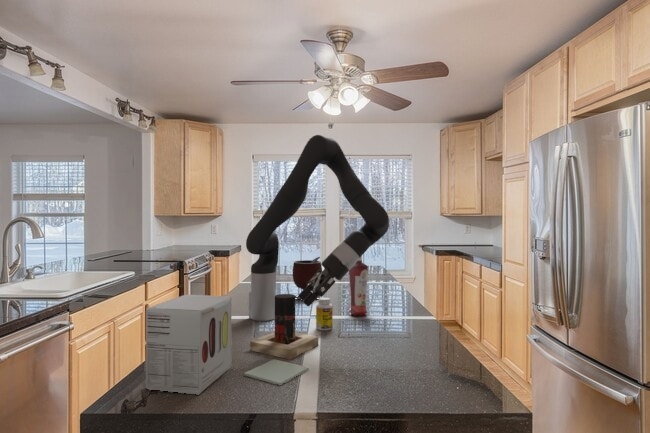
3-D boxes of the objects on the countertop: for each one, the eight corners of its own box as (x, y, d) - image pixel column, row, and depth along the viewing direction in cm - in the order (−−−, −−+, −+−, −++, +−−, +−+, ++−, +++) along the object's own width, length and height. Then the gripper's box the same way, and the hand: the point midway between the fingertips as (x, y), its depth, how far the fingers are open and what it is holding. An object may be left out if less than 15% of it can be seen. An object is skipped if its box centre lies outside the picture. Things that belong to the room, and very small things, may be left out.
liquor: (358, 318, 150) (358, 243, 151) (344, 315, 156) (344, 242, 156) (371, 315, 155) (371, 242, 155) (358, 312, 161) (357, 241, 161)
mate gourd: (286, 297, 190) (286, 255, 190) (309, 294, 199) (308, 253, 199) (307, 303, 178) (307, 257, 178) (330, 298, 188) (330, 255, 188)
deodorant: (275, 344, 119) (275, 294, 119) (295, 344, 120) (295, 293, 120) (274, 351, 113) (274, 298, 114) (295, 350, 114) (295, 297, 114)
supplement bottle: (321, 331, 133) (321, 300, 133) (313, 328, 137) (313, 298, 137) (335, 329, 136) (335, 299, 136) (326, 325, 141) (326, 296, 141)
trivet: (244, 375, 96) (244, 372, 96) (273, 361, 105) (273, 359, 105) (280, 385, 90) (280, 382, 90) (308, 369, 100) (308, 367, 100)
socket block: (250, 350, 114) (250, 341, 114) (281, 337, 126) (281, 329, 126) (289, 359, 107) (289, 349, 107) (318, 345, 119) (318, 336, 119)
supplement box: (201, 396, 85) (200, 310, 85) (143, 391, 87) (144, 308, 87) (233, 366, 102) (233, 295, 102) (185, 363, 104) (185, 293, 104)
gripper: (326, 250, 127) (290, 288, 124) (338, 254, 113) (297, 297, 110) (342, 266, 128) (307, 304, 125) (356, 272, 114) (316, 315, 112)
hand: (303, 301), depth 118 cm, fingers open, 8 cm apart
